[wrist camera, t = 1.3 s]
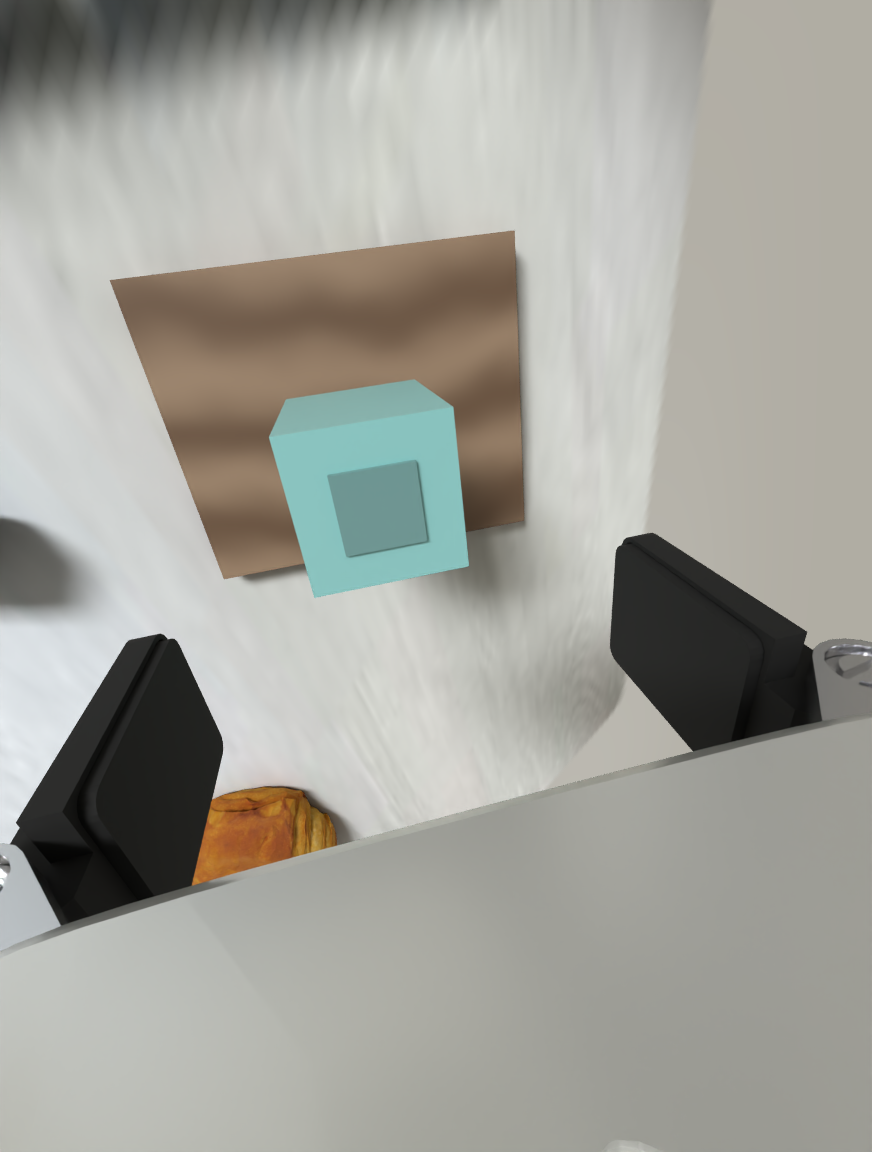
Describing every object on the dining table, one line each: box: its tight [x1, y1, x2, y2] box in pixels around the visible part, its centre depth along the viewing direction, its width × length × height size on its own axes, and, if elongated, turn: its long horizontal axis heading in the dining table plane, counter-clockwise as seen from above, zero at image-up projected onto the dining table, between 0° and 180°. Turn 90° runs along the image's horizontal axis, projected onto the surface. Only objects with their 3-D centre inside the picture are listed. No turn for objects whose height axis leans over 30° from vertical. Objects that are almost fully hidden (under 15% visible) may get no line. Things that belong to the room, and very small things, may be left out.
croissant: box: [192, 787, 337, 886], centre depth 47 cm, size 14×16×8 cm
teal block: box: [269, 379, 469, 598], centre depth 21 cm, size 6×6×8 cm
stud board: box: [110, 231, 524, 579], centre depth 28 cm, size 18×22×11 cm
